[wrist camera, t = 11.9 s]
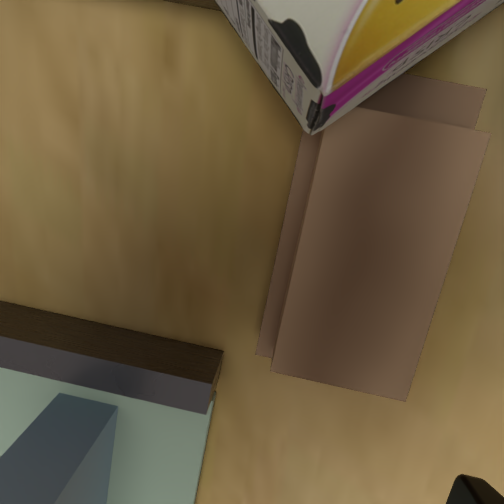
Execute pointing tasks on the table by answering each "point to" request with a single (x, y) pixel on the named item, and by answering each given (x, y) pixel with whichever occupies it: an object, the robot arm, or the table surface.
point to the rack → (110, 351)
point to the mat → (121, 438)
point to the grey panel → (61, 455)
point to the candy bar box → (343, 46)
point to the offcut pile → (372, 236)
